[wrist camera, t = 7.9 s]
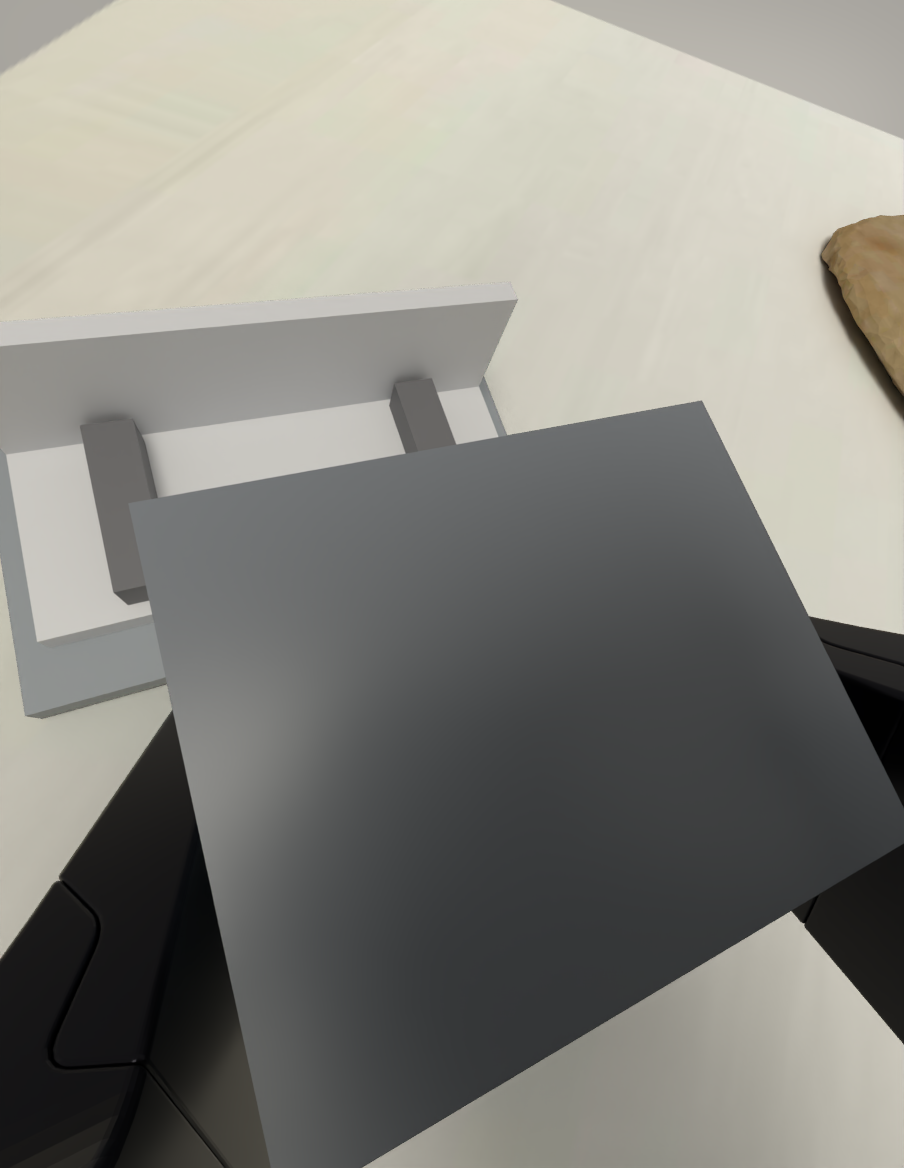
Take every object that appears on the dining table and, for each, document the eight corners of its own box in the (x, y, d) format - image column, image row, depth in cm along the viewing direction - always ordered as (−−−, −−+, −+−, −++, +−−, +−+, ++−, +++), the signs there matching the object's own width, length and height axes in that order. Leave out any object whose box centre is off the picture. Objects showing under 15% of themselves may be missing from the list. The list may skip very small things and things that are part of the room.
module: (500, 785, 15) (917, 835, 5) (304, 865, 14) (281, 1213, 3) (448, 632, 16) (697, 392, 6) (259, 687, 15) (126, 491, 4)
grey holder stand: (548, 577, 25) (635, 510, 18) (42, 718, 19) (-108, 694, 12) (450, 325, 28) (494, 188, 21) (-15, 372, 22) (-158, 200, 15)
